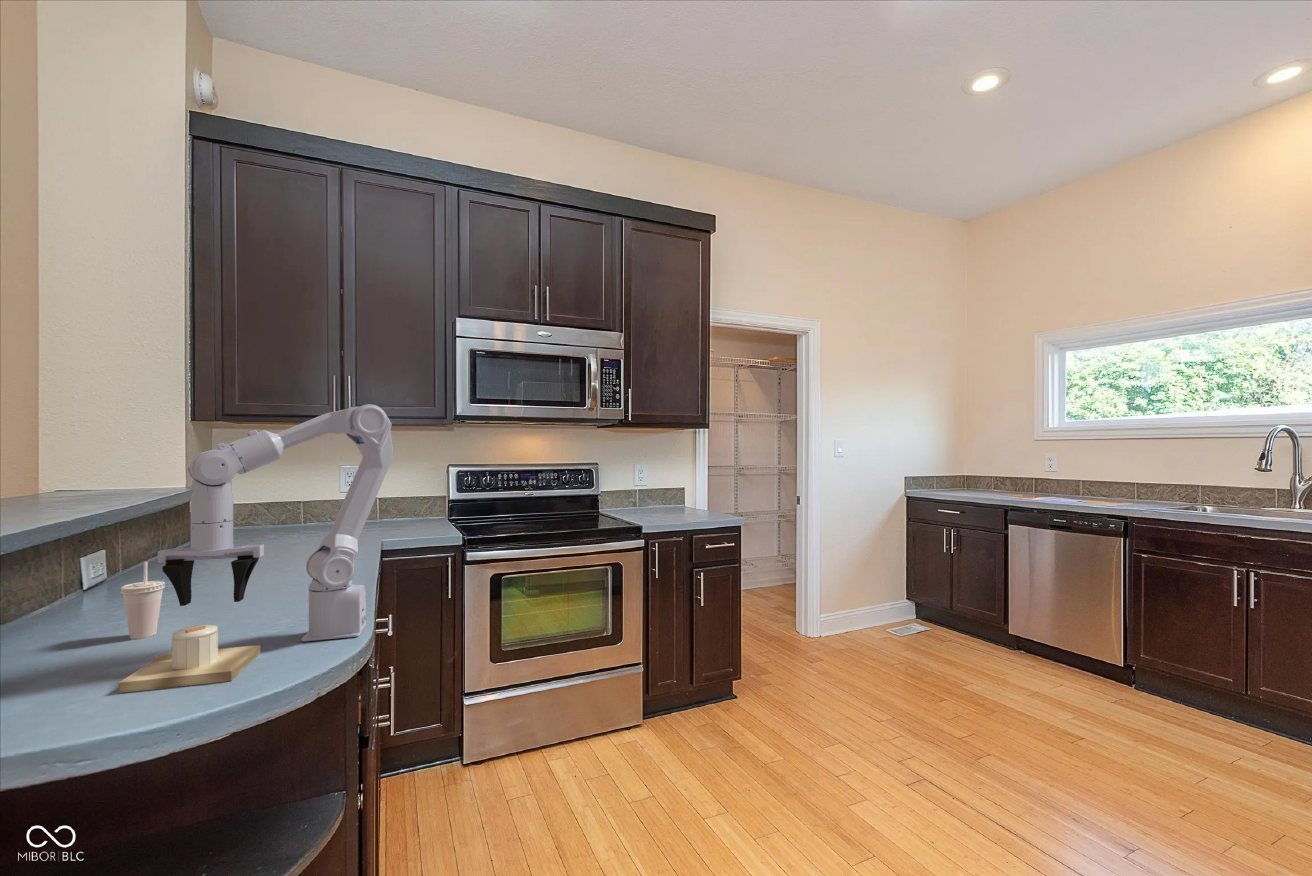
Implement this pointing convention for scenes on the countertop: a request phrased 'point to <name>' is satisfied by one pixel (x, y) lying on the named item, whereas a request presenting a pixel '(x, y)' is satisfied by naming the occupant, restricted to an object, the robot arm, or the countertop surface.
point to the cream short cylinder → (194, 646)
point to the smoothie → (142, 606)
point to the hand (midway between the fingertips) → (212, 602)
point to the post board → (190, 671)
